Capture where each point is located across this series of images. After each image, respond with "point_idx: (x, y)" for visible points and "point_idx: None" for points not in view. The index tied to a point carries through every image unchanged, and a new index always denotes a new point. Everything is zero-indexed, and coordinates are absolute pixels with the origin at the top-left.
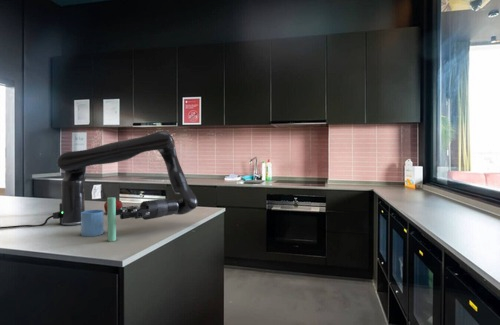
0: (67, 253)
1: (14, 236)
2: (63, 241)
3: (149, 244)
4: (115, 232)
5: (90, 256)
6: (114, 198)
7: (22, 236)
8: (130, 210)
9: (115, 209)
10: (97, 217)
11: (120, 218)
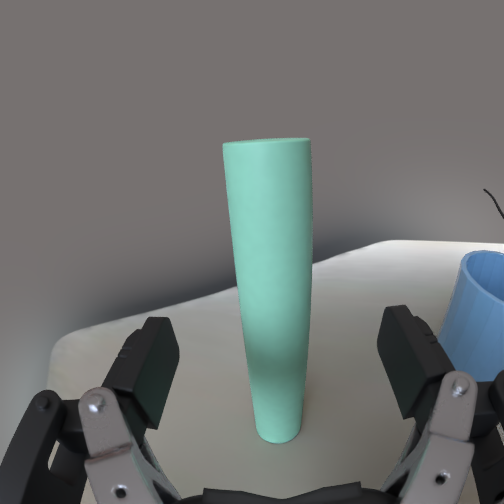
0: (234, 293)
1: (474, 249)
2: (389, 302)
3: None
4: (257, 414)
5: (150, 314)
6: (225, 149)
7: None
8: (308, 495)
9: (246, 279)
10: (467, 315)
11: (175, 351)
